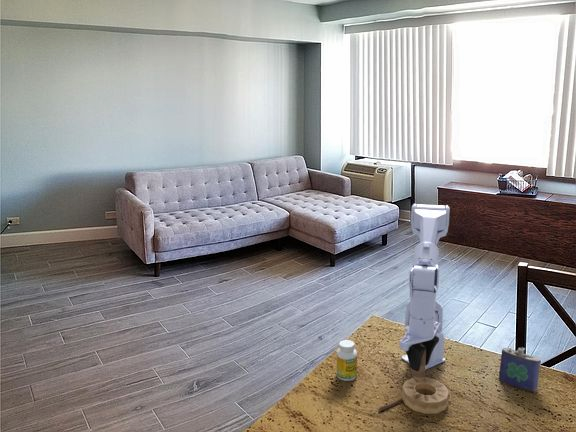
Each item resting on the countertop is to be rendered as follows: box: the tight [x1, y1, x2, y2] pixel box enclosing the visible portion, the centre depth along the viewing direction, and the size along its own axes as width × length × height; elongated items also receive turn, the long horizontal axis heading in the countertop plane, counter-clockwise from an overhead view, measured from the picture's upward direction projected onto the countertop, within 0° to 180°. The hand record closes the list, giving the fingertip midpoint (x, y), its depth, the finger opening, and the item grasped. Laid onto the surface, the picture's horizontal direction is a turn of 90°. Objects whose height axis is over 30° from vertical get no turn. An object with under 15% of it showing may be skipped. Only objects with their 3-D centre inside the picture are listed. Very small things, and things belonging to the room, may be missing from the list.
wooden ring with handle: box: [378, 376, 450, 415], centre depth 120 cm, size 18×10×3 cm, turn 123°
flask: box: [498, 346, 542, 393], centre depth 126 cm, size 9×3×11 cm, turn 50°
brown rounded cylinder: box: [410, 343, 426, 378], centre depth 120 cm, size 3×3×8 cm
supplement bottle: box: [336, 339, 358, 382], centre depth 132 cm, size 5×5×10 cm
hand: (419, 366), depth 121 cm, fingers closed on brown rounded cylinder, 3 cm apart
